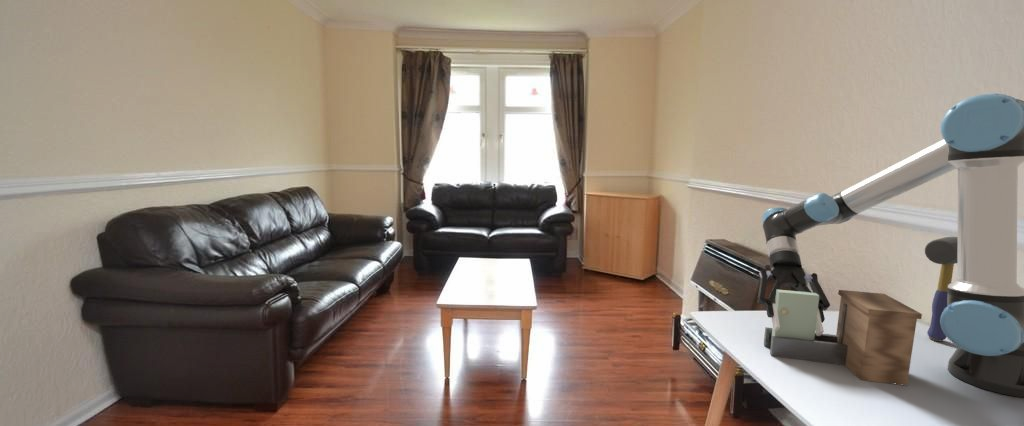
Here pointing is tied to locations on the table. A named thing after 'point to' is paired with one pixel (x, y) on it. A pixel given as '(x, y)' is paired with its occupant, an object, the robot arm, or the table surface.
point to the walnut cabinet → (876, 335)
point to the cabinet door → (796, 314)
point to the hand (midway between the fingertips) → (798, 331)
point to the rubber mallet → (941, 280)
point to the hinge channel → (807, 348)
